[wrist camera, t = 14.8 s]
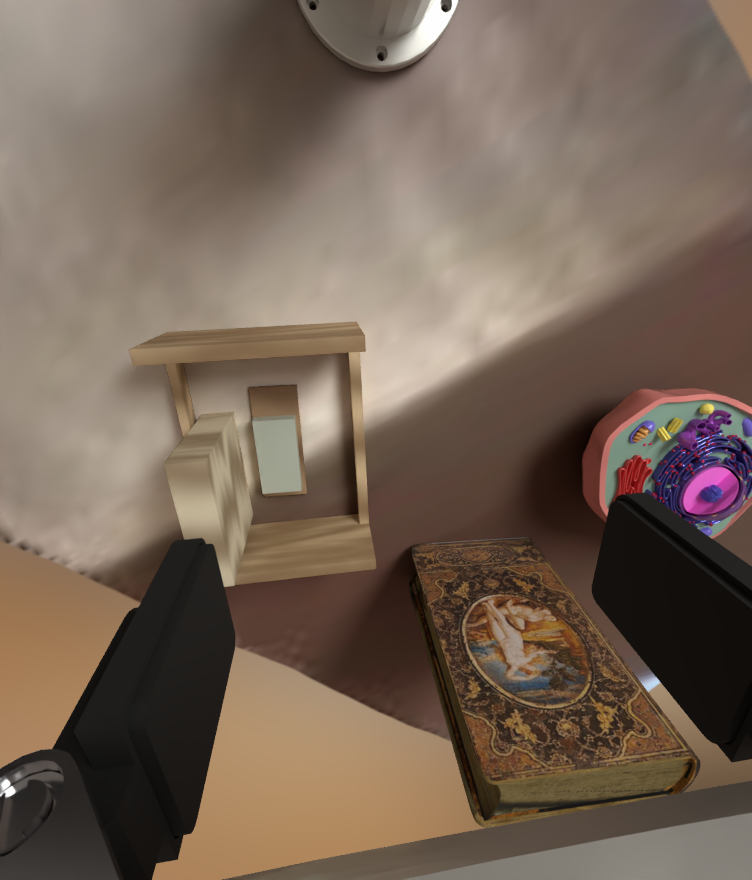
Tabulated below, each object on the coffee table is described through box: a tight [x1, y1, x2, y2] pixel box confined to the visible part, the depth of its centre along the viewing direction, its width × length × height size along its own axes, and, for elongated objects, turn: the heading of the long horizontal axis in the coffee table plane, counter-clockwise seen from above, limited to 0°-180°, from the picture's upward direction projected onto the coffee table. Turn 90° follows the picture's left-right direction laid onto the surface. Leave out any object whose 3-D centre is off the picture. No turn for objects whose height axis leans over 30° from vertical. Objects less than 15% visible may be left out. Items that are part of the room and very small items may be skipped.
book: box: [409, 537, 700, 827], centre depth 40 cm, size 16×6×25 cm, turn 89°
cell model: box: [582, 388, 752, 539], centre depth 43 cm, size 17×20×11 cm
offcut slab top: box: [252, 415, 302, 494], centre depth 42 cm, size 8×4×1 cm, turn 1°
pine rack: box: [129, 322, 376, 585], centre depth 39 cm, size 22×17×8 cm
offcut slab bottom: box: [248, 385, 307, 497], centre depth 43 cm, size 12×4×1 cm, turn 1°
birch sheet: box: [163, 412, 253, 587], centre depth 38 cm, size 12×3×11 cm, turn 3°
